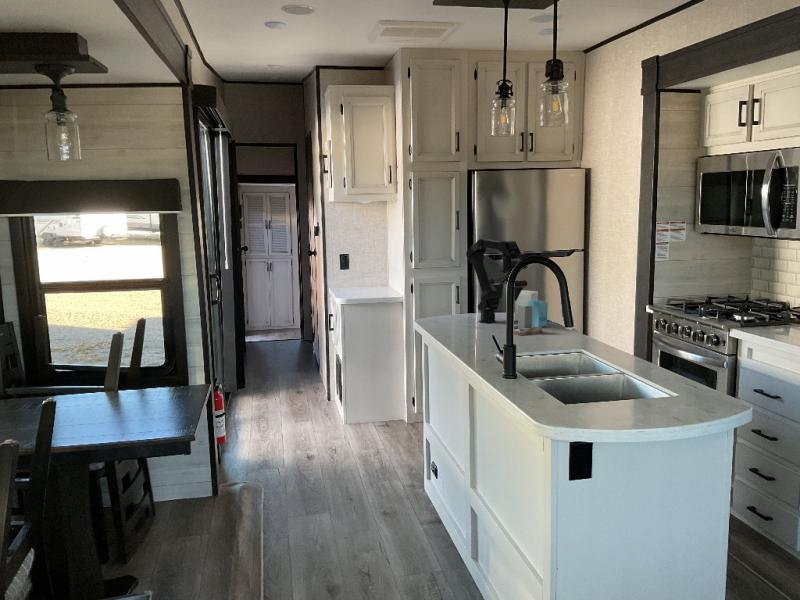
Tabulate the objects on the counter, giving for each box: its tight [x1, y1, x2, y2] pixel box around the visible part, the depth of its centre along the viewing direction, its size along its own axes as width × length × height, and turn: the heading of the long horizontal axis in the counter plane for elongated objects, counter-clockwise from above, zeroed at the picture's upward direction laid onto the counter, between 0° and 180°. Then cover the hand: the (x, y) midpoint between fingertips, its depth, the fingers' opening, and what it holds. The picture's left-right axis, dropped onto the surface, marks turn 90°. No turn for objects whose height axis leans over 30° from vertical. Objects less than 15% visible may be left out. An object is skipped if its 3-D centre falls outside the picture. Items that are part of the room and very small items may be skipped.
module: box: [517, 304, 533, 329], centre depth 306 cm, size 4×5×11 cm
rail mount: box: [513, 324, 544, 336], centre depth 307 cm, size 13×10×3 cm
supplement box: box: [514, 289, 539, 322], centre depth 337 cm, size 9×9×15 cm
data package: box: [528, 299, 548, 328], centre depth 324 cm, size 12×4×12 cm, turn 15°
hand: (507, 299), depth 320 cm, fingers open, 9 cm apart
